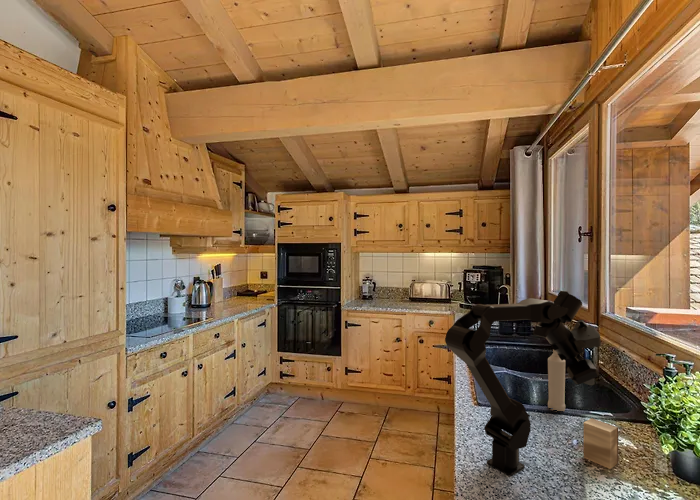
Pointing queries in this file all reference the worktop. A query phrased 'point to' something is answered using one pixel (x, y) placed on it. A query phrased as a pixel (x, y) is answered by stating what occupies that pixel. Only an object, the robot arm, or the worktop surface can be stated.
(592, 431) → the birch block
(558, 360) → the bottle
